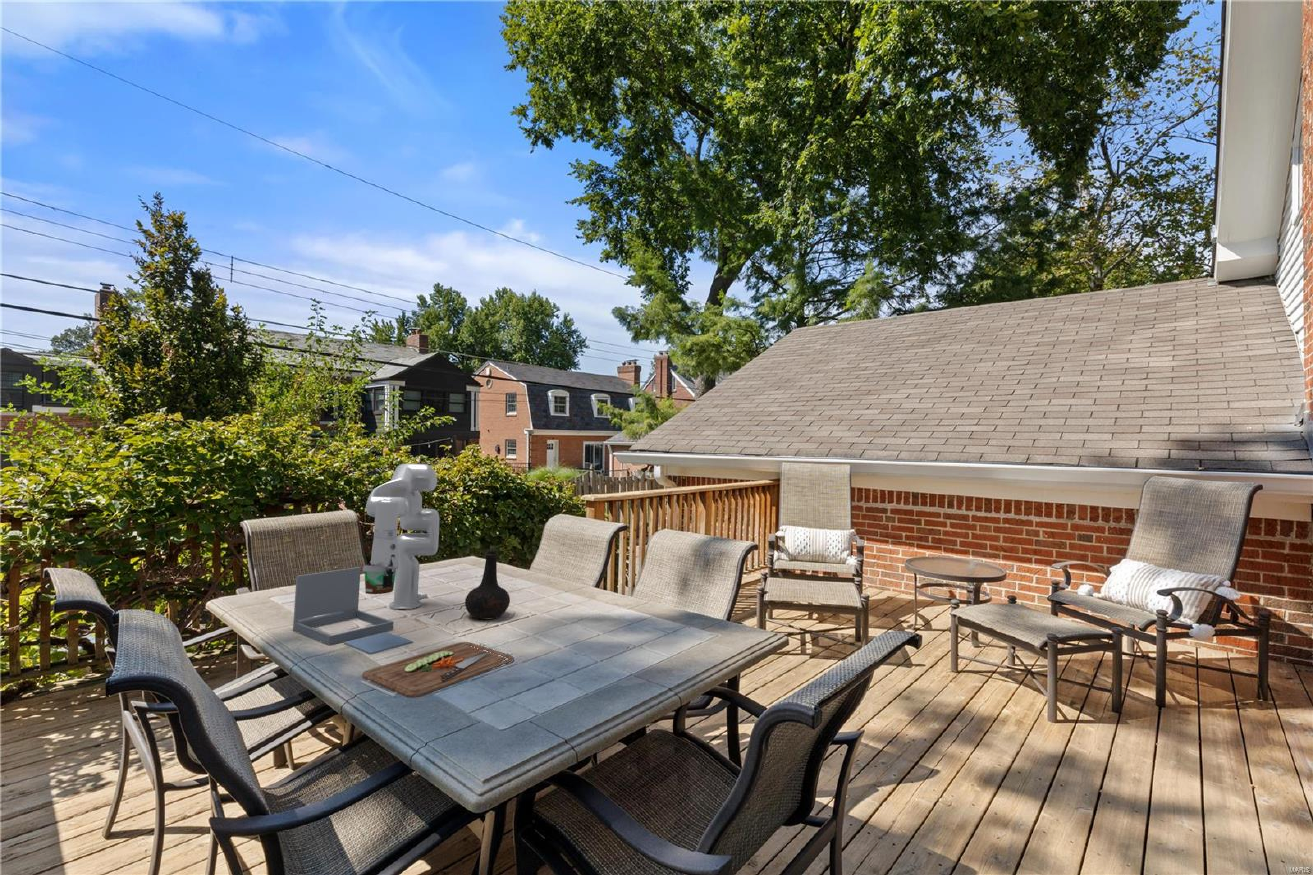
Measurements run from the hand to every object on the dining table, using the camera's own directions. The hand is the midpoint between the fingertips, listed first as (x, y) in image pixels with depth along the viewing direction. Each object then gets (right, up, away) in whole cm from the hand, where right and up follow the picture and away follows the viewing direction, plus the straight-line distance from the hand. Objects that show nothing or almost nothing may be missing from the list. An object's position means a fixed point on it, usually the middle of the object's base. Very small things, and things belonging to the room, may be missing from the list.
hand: (382, 585), depth 207 cm
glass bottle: (+26, -23, +38) cm, 51 cm away
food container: (0, -3, 0) cm, 3 cm away
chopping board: (+28, -22, -20) cm, 41 cm away
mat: (-1, -20, -1) cm, 20 cm away
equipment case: (-20, -20, +11) cm, 30 cm away
